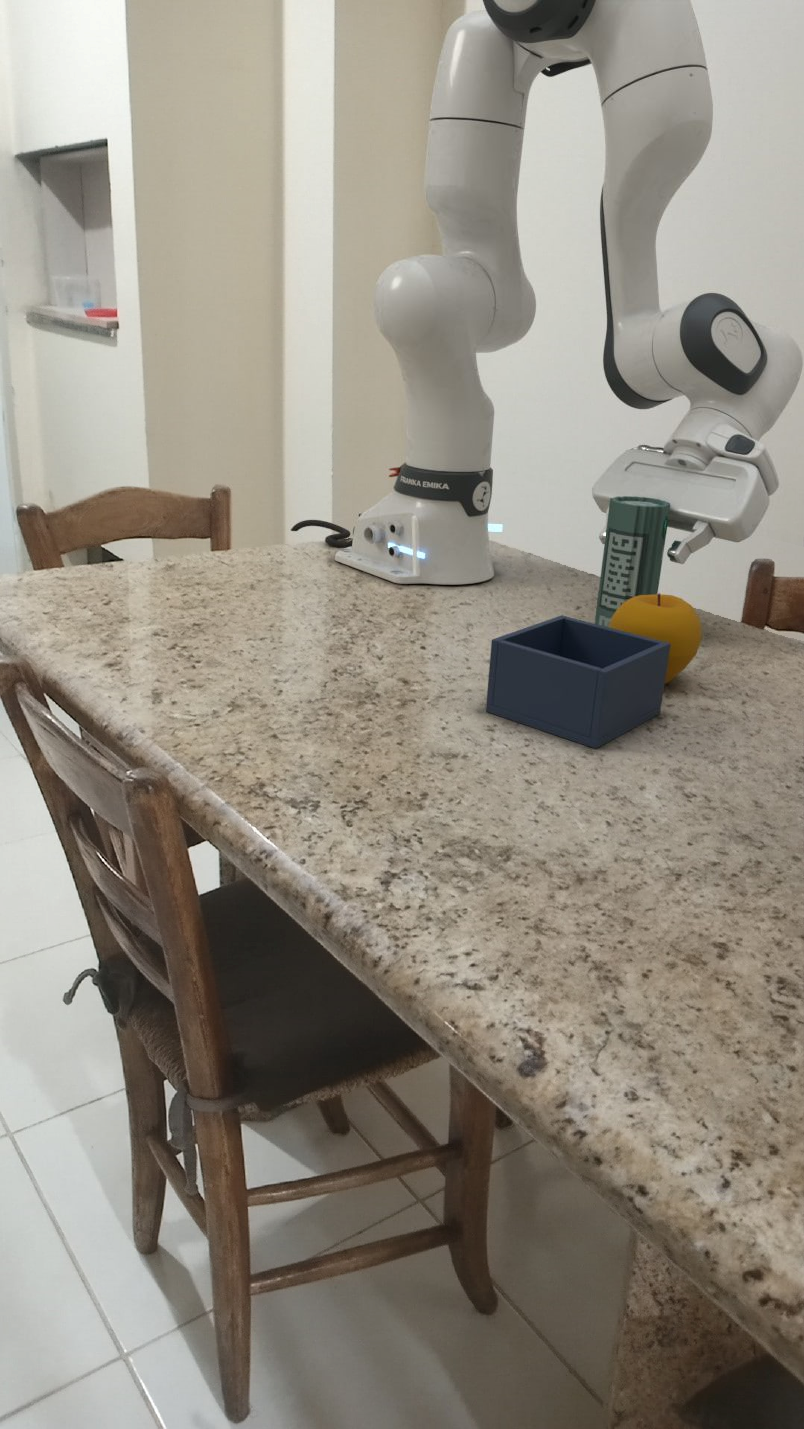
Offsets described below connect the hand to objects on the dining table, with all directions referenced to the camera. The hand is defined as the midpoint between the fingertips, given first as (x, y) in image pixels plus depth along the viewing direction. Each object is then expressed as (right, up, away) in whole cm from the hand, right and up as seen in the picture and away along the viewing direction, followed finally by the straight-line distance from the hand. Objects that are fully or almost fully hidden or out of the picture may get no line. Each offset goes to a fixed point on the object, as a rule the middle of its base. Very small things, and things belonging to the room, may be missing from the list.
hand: (638, 550), depth 113 cm
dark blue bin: (-11, -18, -20) cm, 29 cm away
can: (-1, -9, +3) cm, 10 cm away
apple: (-2, -15, -11) cm, 18 cm away
